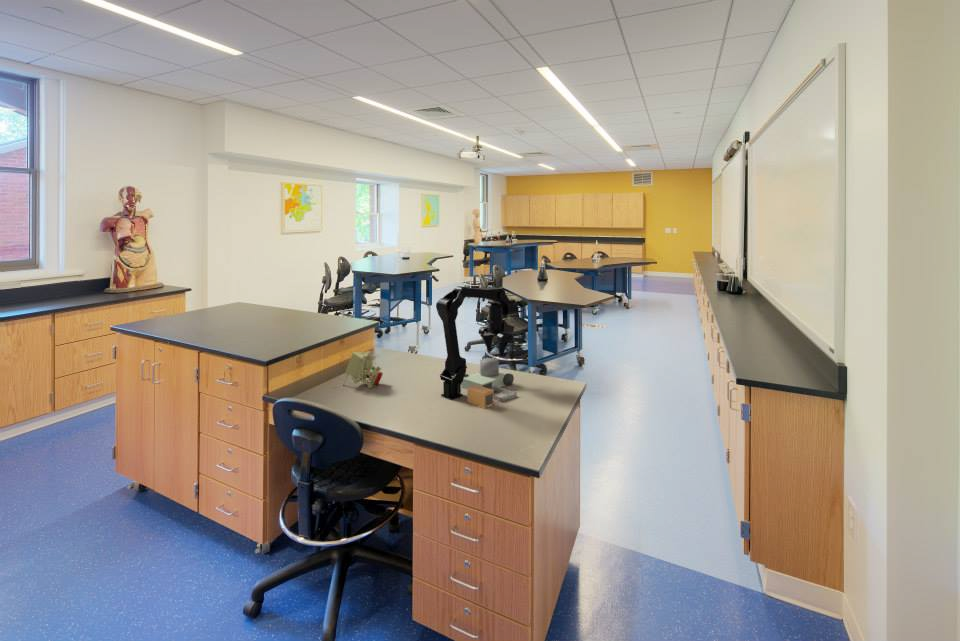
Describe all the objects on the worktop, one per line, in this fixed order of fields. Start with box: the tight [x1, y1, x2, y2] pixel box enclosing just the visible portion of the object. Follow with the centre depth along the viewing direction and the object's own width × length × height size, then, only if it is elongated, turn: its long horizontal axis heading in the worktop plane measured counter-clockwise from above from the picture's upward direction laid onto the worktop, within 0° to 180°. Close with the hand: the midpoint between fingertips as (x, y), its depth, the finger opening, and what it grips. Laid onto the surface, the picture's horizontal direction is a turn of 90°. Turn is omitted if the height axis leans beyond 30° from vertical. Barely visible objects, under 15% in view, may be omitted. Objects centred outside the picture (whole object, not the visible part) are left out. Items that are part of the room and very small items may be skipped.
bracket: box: [493, 386, 518, 403], centre depth 197 cm, size 9×12×2 cm
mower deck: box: [461, 357, 515, 391], centre depth 208 cm, size 18×15×10 cm
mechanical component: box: [342, 350, 383, 389], centre depth 209 cm, size 8×17×20 cm, turn 89°
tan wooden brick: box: [466, 385, 494, 409], centre depth 188 cm, size 5×9×6 cm, turn 45°
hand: (495, 353), depth 208 cm, fingers open, 9 cm apart
